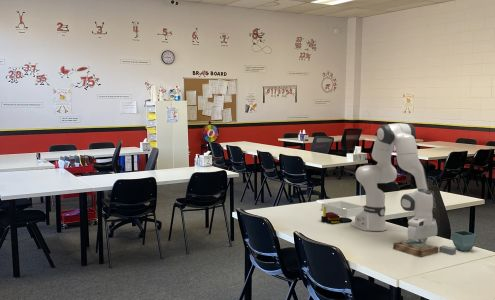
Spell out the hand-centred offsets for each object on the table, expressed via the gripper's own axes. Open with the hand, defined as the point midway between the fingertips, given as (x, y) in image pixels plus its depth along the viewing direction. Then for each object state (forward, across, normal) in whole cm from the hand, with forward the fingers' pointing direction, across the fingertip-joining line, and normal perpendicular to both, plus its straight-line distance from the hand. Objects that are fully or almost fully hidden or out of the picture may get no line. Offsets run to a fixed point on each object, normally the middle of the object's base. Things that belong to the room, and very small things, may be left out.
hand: (422, 246), depth 255 cm
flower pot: (+2, -18, +12) cm, 22 cm away
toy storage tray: (+2, -25, -84) cm, 88 cm away
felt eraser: (+2, -6, +11) cm, 13 cm away
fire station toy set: (+2, -2, -68) cm, 68 cm away
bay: (+2, +5, 0) cm, 5 cm away
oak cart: (+2, +6, -1) cm, 6 cm away
